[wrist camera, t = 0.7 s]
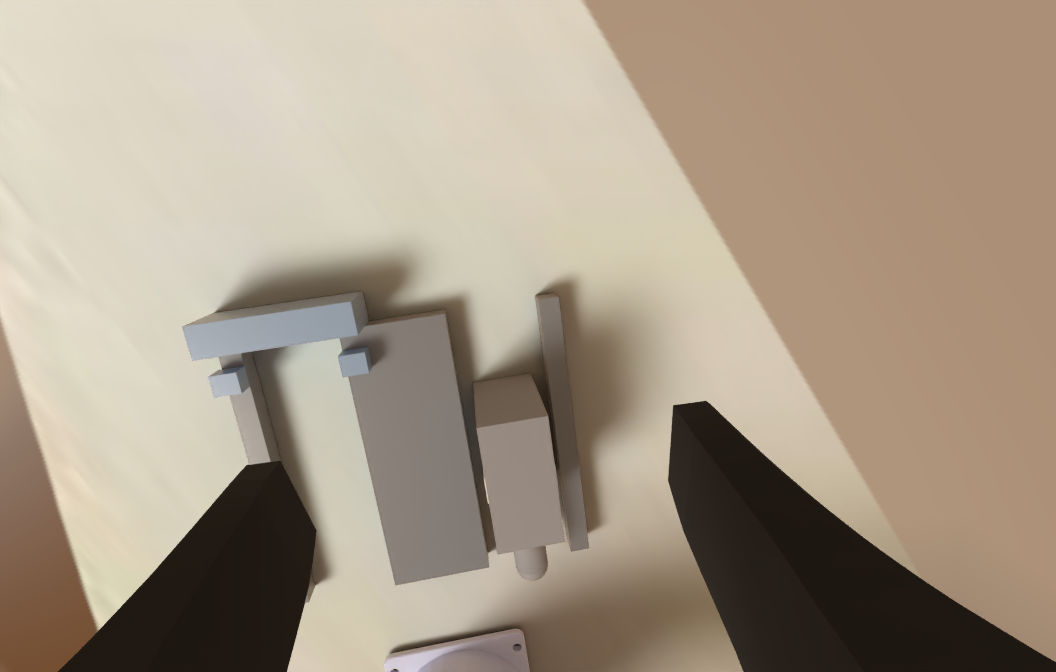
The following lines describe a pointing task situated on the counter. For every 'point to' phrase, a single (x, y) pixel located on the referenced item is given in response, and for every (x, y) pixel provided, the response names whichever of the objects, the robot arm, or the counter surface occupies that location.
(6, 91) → the counter surface
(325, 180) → the counter surface
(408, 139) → the counter surface
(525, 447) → the tall taupe box
